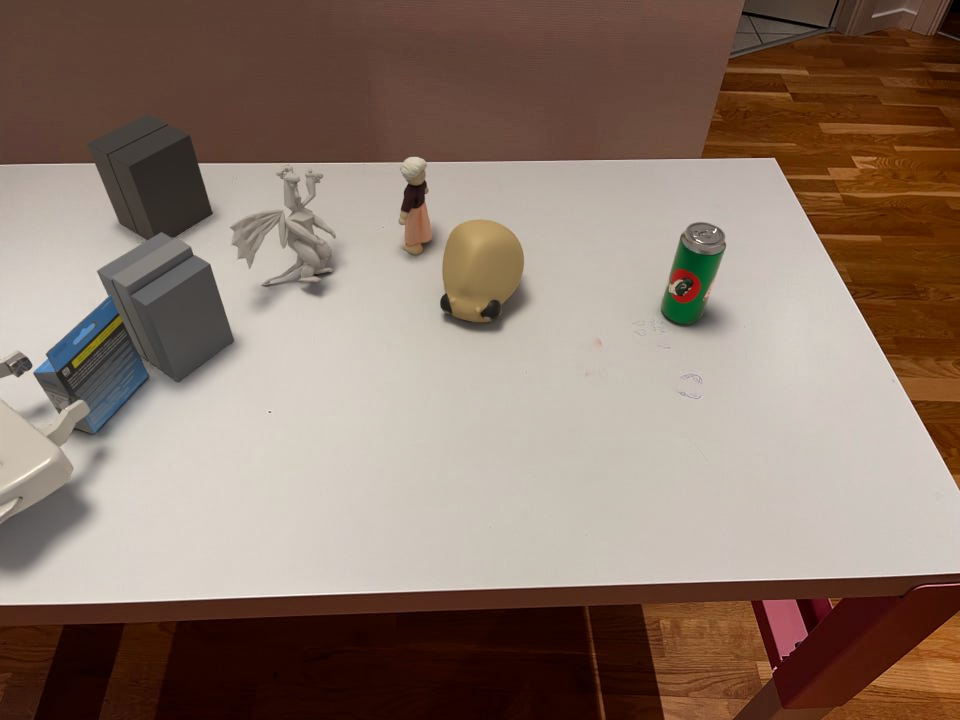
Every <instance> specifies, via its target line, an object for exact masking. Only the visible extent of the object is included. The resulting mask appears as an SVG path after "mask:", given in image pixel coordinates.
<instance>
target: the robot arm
mask: <svg viewBox="0 0 960 720" xmlns="http://www.w3.org/2000/svg"><path fill="white" fill-rule="evenodd" d="M32 368H33V363H32V361H31V360H30V358H29V357H28V356H27V355H26V354H24V353H23V352H21V351H20V350H14V351H13V352H10V353H9V354H8V355H6V356H4V357H2V358H0V379H4V378H6V377H10V376H15V377H16V378H20V377H21V376H22V375H24V374H25V372H29V371H31V370H32ZM59 406H60V408H61V409H62V411H61V413H60V414H59V413H58V416H57V417H56V418H55V419H54V422H52V423H51V422H50V421H47V422H45V423H44V424H42V425H40V426H39V427H38V428H37V427H36V426H35V425H33V424H32V423H31V422H30V421H28V420H27V418H25V417H24V416H22V415H21V414H20V413H19V412H18V411H17V410H15V409H14V408H13V407H11V406H10V405H9V404H8V403H7V402H6V401H5V400H3V398H1V397H0V525H1V524H2V523H4V522H5V521H6V520H9V518H10V517H14V516H15V515H17V514H19V513H21V512H23V511H25V510H26V509H28V508H30V507H31V506H34V505H35V504H36V503H38V502H40V501H41V500H43V499H45V498H46V497H49V495H51V494H52V493H54V492H55V491H57V490H58V489H60V488H61V487H63V486H64V485H65V484H67V483H68V482H69V481H70V479H71V477H72V475H73V472H74V466H73V464H72V462H71V461H70V458H68V456H67V455H66V453H65V452H64V450H63V449H62V448H61V446H63V445H65V444H66V443H67V442H68V440H69V438H70V436H71V434H72V432H73V430H74V429H75V428H74V426H75V425H76V424H75V423H77V422H78V421H79V420H81V419H82V418H83V417H85V416H86V415H88V413H89V412H90V409H89V407H88V405H87V403H86V402H85V401H83V400H82V399H81V398H79V397H78V396H76V395H72V396H71V397H69V399H68V400H65V401H63V402H62V403H60V404H59Z"/></svg>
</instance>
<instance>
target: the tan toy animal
mask: <svg viewBox="0 0 960 720" xmlns="http://www.w3.org/2000/svg"><path fill="white" fill-rule="evenodd" d="M524 268H525V255H524V250H523V247H522V244H521V241H520V240H519V239H518V237H517V235H516V234H515V233H514V232H513V231H512V230H511V229H510V228H508V227H506V226H505V225H503V224H501V223H500V222H496V221H493V220H489V219H471V220H467V221H466V220H465V221H464V222H461V223H459V224H457V225H456V226H455V227H453V229H452V230H451V231H450V233H449V236H448V238H447V240H446V244H445V247H444V251H443V257H442V267H441V269H442V270H441V274H442V276H441V277H442V282H443V288H444V289H443V290H444V291H445V293H444V294H443V295H442V296H441V298H440V300H439V307H440V309H441V310H442V311H443V312H444V313H446V314H448V315H451V316H453V317H455V318H457V319H460V320H464V321H467V322H472V323H489V322H492V321H495V320H496V319H498V318H499V317H500V316H501V315H502V313H503V308H502V305H503V304H504V303H505V302H506V301H507V300H508V299H509V298H510V297H511V296H512V295H513V294H514V292H515V291H516V290H517V288H518V287H519V284H520V283H521V280H522V277H523V274H524Z"/></svg>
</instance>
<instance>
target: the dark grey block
mask: <svg viewBox="0 0 960 720" xmlns="http://www.w3.org/2000/svg"><path fill="white" fill-rule="evenodd" d="M192 141H193V140H192V138H191V135H190V134H188V133H187V132H185V131H183V130H181V129H179V128H177V127H175V126H173V125H171V124H169V123H167V122H165V121H163V120H161V119H159V118H157V117H156V116H154V115H151V114H149V113H147V114H145V115H143V116H141V117H139V118H137V119H134V120H132V121H130V122H128V123H126V124H124V125H122V126H120V127H118V128H115V129H114V130H111V131H110V132H107V133H106V134H103V135H101V136H99V137H97V138H95V139H93V140H91V141H88V142H86V145H87V147H88V150H89V153H90V155H91V157H92V160H93V163H94V165H95V167H96V170H97V172H98V174H99V177H100V179H101V182H102V184H103V186H104V189H105V192H106V194H107V197H108V199H109V201H110V204H111V206H112V209H113V211H114V213H115V215H116V218H117V221H118V223H119V224H121V225H122V226H124V227H125V228H127V229H129V230H131V231H132V232H134V233H136V234H137V235H139V236H141V237H142V238H144V239H145V240H146V241H148V240H149V239H151V238H153V237H154V236H156V235H158V234H159V233H161V232H162V233H164V234H166V235H167V236H169V237H171V238H172V239H174V238H176V236H179V235H181V233H183V232H185V231H186V230H188V229H190V228H191V227H193V226H195V225H196V224H198V223H200V222H201V221H203V220H205V219H206V218H208V217H209V216H211V215H213V214H214V213H213V210H212V206H211V202H210V198H209V196H208V193H207V189H206V185H205V182H204V179H203V175H202V172H201V169H200V165H199V162H198V157H197V155H196V151H195V148H194V144H193V142H192Z"/></svg>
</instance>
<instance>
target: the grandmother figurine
mask: <svg viewBox="0 0 960 720" xmlns="http://www.w3.org/2000/svg"><path fill="white" fill-rule="evenodd" d="M427 167H428V163H427V161H426V160H425V159H423V158H422V157H419V156H410V157H407V158H406V159H405V160H403V162H402V164H401V165H400V166H399V171H400V173H401V176H402V177H403V178H404V179H405V181H406V182H407V184H406V186H405V188H404V190H403V198H402V199H403V200H402V203H401V207H400V213H399V219H398V224H399V225H400V226H404V243H403V245H402V249H403V250H405V251H406V252H407V253H409V254H411V255H414V256H416V255H420V254H422V252H423V251H424V248H423V247H424V246H423V245H422V244H427V243H428V242H430V241H431V240H432V239H433V231H432V226H431V221H430V216H429V211H428V206H427V203H426V195H428V193H429V188H428V182H427V180H426V175H427V173H426V168H427Z"/></svg>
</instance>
